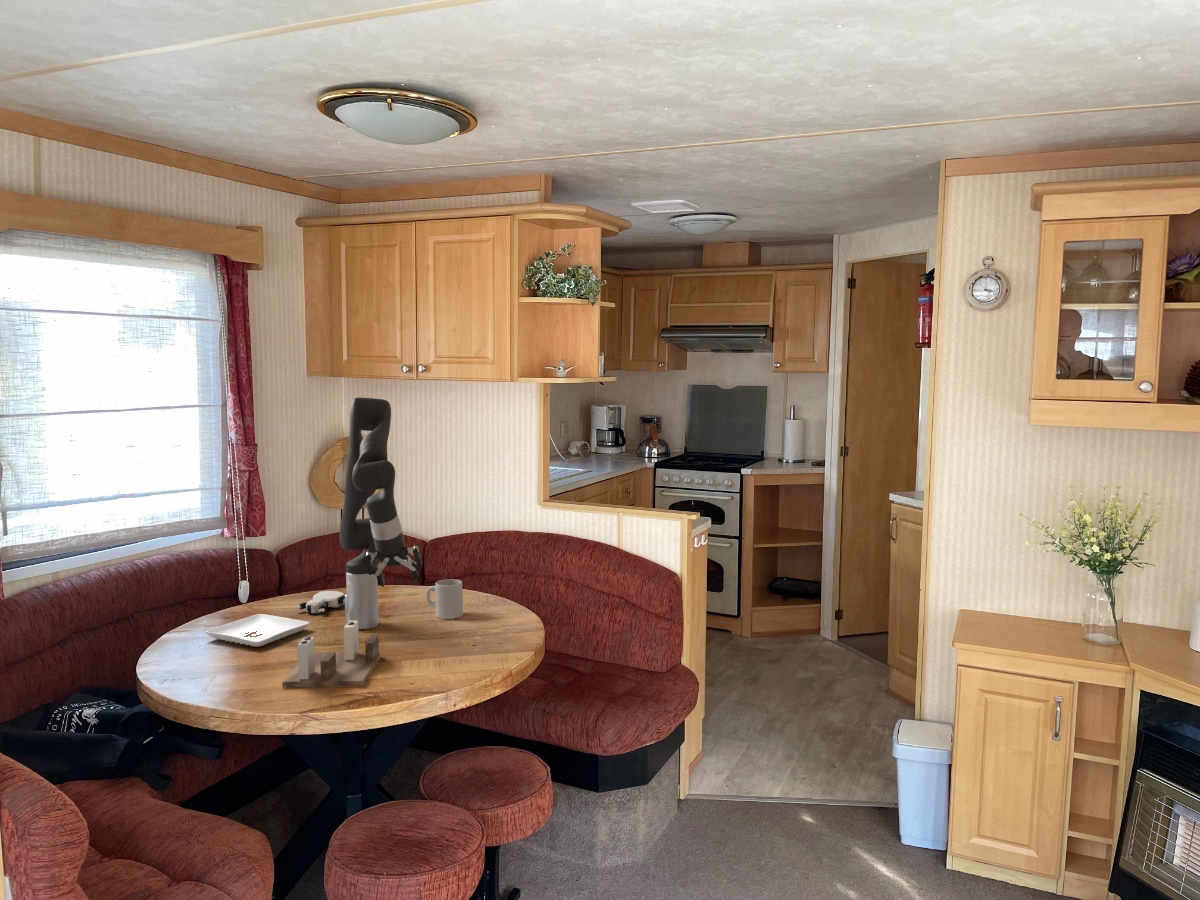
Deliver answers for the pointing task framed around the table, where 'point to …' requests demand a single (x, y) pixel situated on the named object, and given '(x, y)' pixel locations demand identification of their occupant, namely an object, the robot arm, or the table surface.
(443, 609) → the mug
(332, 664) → the brown piece
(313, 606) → the robot toy
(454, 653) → the table surface
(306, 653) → the tile two
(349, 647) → the tile one
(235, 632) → the salad plate
